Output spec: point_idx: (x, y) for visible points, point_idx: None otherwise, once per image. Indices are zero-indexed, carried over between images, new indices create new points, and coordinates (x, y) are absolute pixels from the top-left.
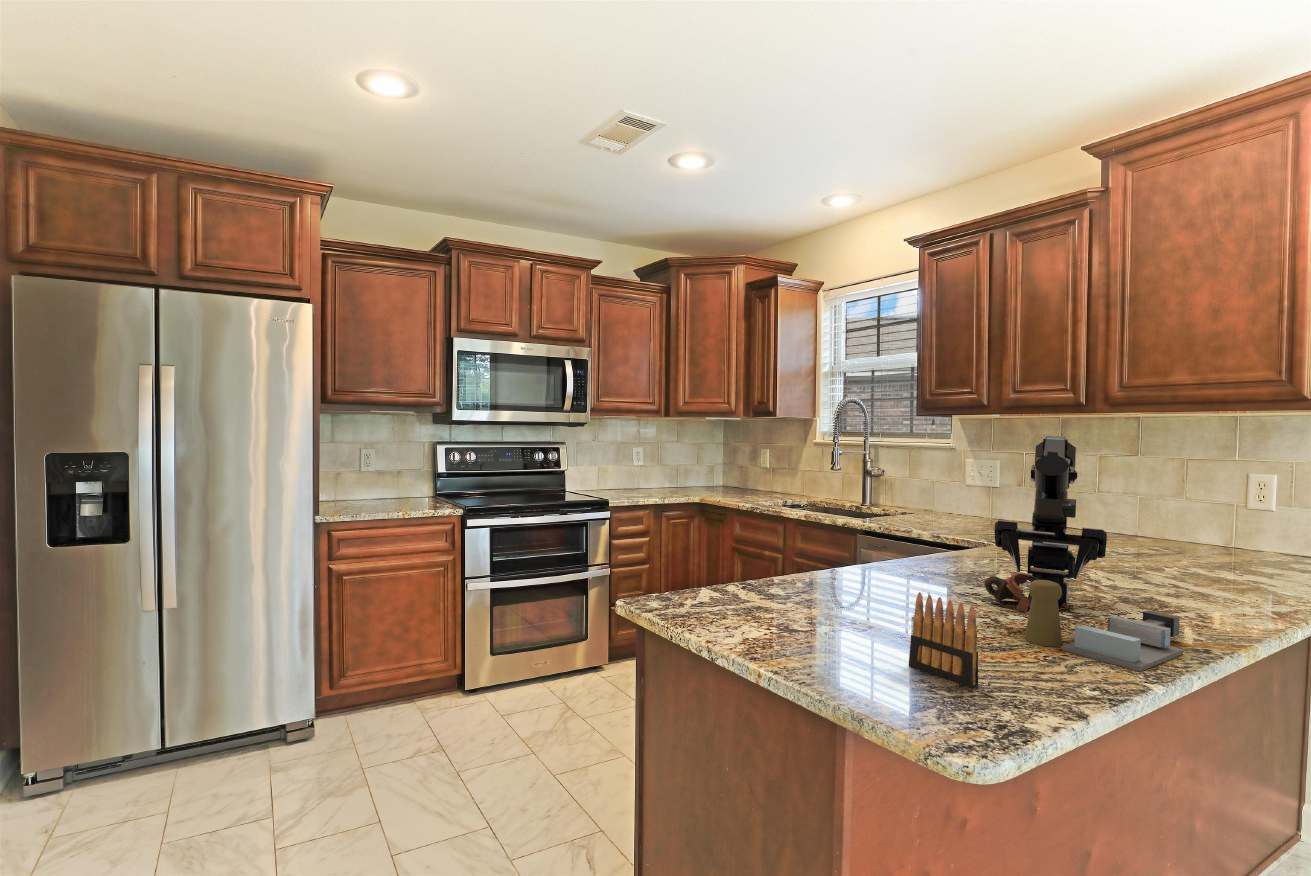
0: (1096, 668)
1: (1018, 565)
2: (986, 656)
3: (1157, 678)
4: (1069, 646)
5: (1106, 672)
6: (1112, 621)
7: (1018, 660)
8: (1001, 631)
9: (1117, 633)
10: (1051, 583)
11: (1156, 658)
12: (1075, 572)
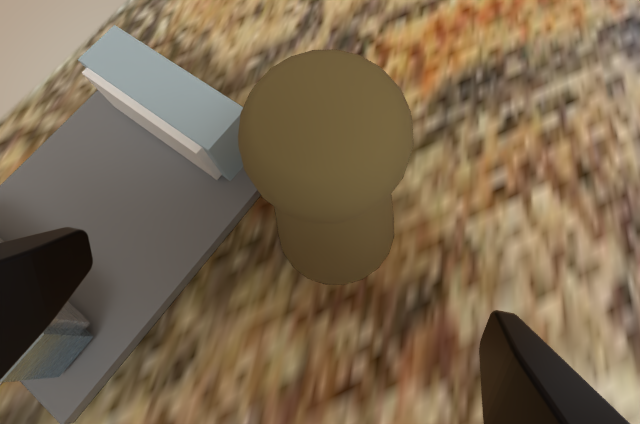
0: (247, 37)
1: (519, 331)
2: (510, 11)
3: (129, 28)
4: None
5: (233, 20)
6: None
7: (430, 16)
8: (468, 295)
9: (125, 90)
10: (296, 68)
11: (60, 134)
12: (55, 234)
